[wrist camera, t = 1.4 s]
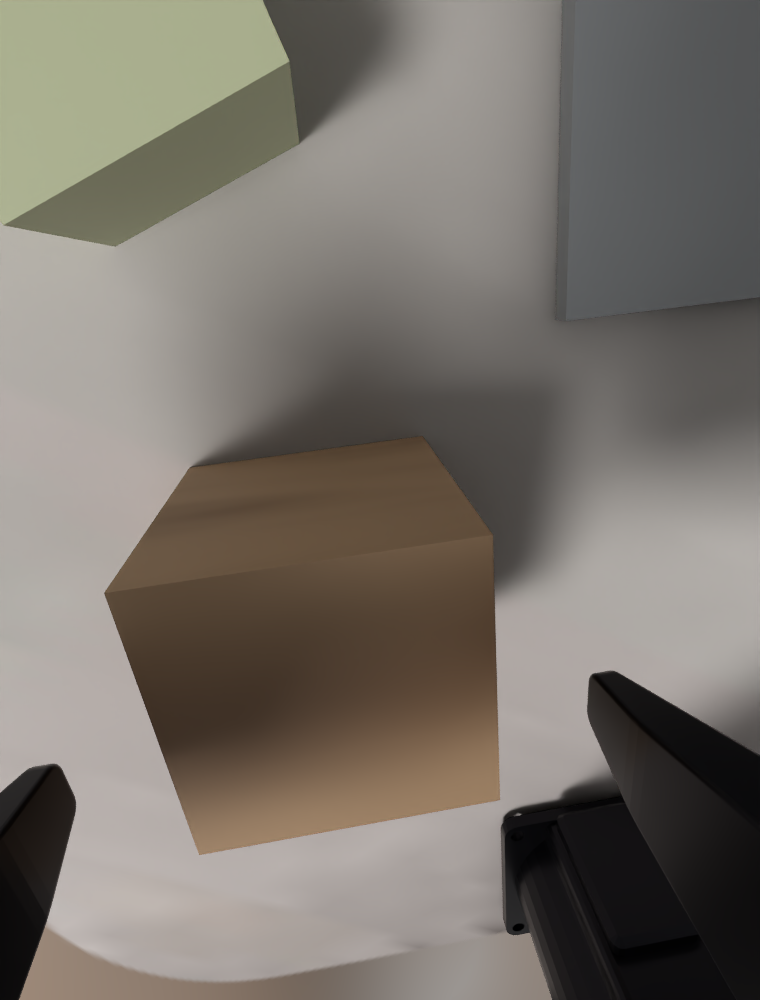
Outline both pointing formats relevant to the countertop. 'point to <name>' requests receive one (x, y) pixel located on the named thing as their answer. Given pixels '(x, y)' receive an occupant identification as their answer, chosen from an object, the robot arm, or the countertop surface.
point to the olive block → (134, 109)
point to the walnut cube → (316, 642)
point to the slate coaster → (658, 155)
